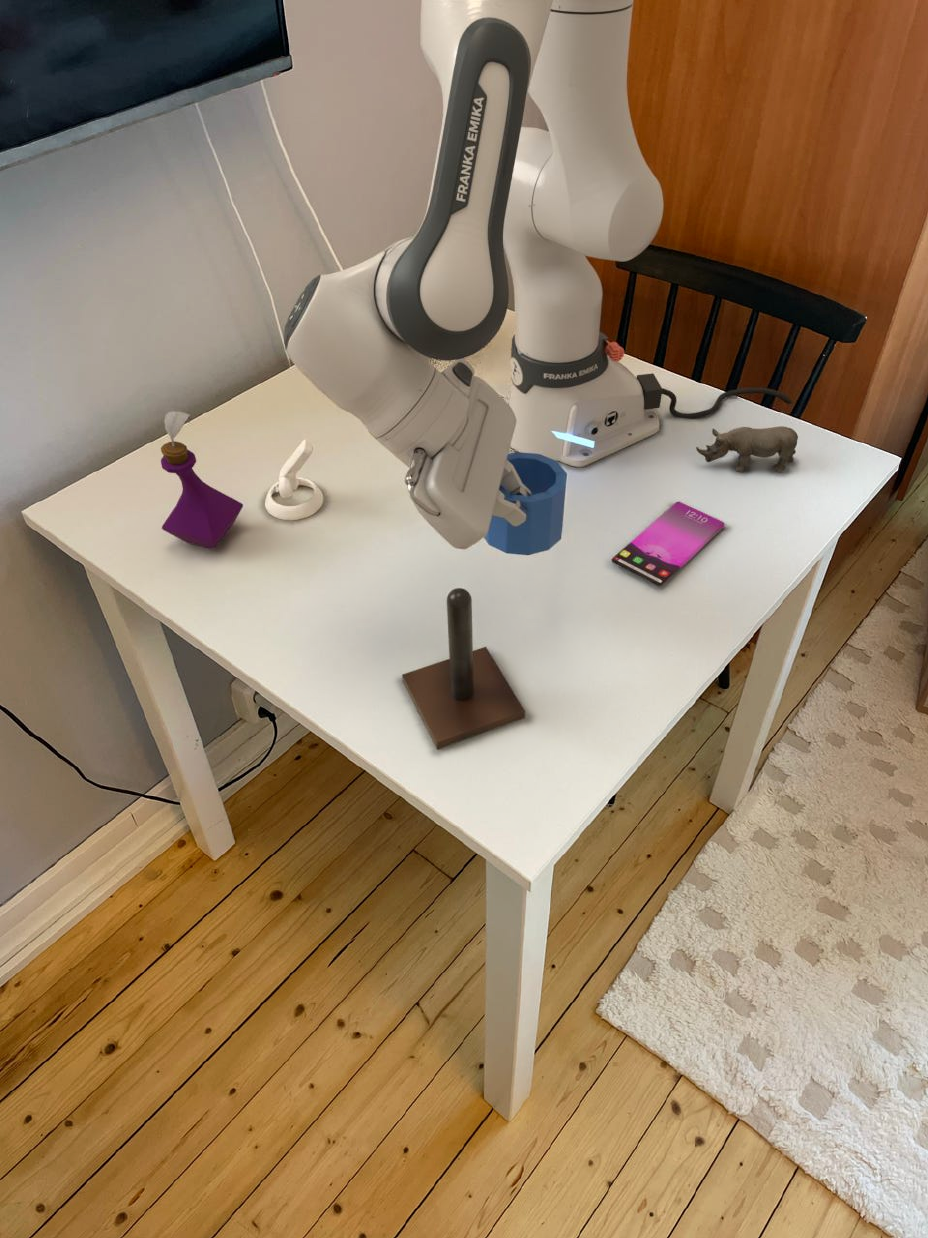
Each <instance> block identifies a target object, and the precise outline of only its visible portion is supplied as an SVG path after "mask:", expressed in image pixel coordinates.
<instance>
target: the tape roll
mask: <svg viewBox="0 0 928 1238" xmlns="http://www.w3.org/2000/svg"><path fill="white" fill-rule="evenodd" d="M507 460H508V461H509V462H510V463H511V464H512V465H513V466H514V468H515V470H516V472H517V474H518V476H519V478H520V480H521V481H522V482H521V483H523V484H524V485H525V486H526V487H527V488H528V489H529V490H530V491H531V493H532V494H531V496H526V495H513V494H510V493H508V492H506V491H505V490H504V488H503V487H502V485H501V484H500V487H499V490H500V491H501V492H502V493H503V494H504V496H505V497H504V500H507V501H509V502H512V503H514V502H515V501H517V500H518V501H520V502H521V503H522V504H523V506H525V507H526V508H527V510H528V512H527V517H526V520H525V522H523V523H522V524H520V525H519V526H513V525H512V524H510V523H509V522H508V521H507V520H506V519H505V518H504V517H503V518H502V517H497V516H493V515H492V518H491V522H490V526H489V530H488V533H487V535H486V536H485V537H484V538H483V539H484V540H485V541H486V543H487V544H488V545H489V546H490V547H492V548H494V549H497V550H498V551H501V552H503V553H504V554H509V555H521V556H533V555H535V554H540V553H543V552H546V551H549V550H550V549H552V548H553V547H554V546H555V545H556V544H557V543H559V542H560V541H561V540H562V535H563V526H564V515H565V514H564V513H565V503H566V489H567V479H568V478H567V477H568V473H567V472H566V470H565V469H564V468H563V467H562V466H561V464H560V463H559V461H555V460H553V459H550V458H548V457H546V456H543V455H541V454H535V453H522V452H518V451H515V452H510V453H508V456H507Z"/></svg>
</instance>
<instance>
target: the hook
mask: <svg viewBox="0 0 928 1238" xmlns="http://www.w3.org/2000/svg"><path fill="white" fill-rule="evenodd" d="M313 451H314V446H313V444H312V442H310V441H309V440H308V439H303V440H302V441H301V442H300V443H299V444H298V446H297V447H296V449H295V450H294V451H293V453H291V455H290V457H289V458H288V459H287V460H286V462H285V463H284V465H283V466H282V468H281V469H280V471H279V478H278V481H277V482H275V483H274V484H273V485H272V486H271V487H270V488H269V490H268V492H267V494H266V497H265V501H264V507H265V509H266V511H267V513H268V515H271V516H272V517H274V518H276V519H279V520H282V521H298V520H302V519H306V518H308V517H311V516H312V515H314V514H315V513H317V512H318V511H319V510H320V509H321V507H322V506H323V504H324V495H323V493H322V491H321V489H320V488H319V486H317V484H316V483H315V482H313V481H312V480H311V479H308V478H305V477H299V476H296V475H297V473H298V472H299V471H300V470H301V469H302V467H303V466H304V464H305V463H306V462H307V461H308V459H309V458H310V457H311V455H312V454H313ZM298 486H303V487H308V488H311V489H313V494H312V495H311V497H310V498H309V499H308V500H307V501H305V502H302V503H300V504H297V505H283V504H279V503H278V502H276V501H275V500H274V499H273V497H272V496H273V495H274V494H275V493H279V494H280V497H281V498H283V499H290V498H291V497H293V491H295V490H296V491H297V489H298Z"/></svg>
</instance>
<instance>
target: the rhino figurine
mask: <svg viewBox="0 0 928 1238" xmlns="http://www.w3.org/2000/svg"><path fill="white" fill-rule="evenodd" d="M711 433H712V435H713V436H714V437H715V441H714V443H713V444H706V445H705V448H706V449H702V448H699V447H698V446H695V449H696V451H697V453H698V454H700V455H701V456H703V458H704V459H705V462H706V463H711V462H714V461H716V460H720V459H721V458H724V457H726V455H727V454H728V453H729V451H730V452H736V453H737V454H738V457H737V459H738V460H739V463H738V464H736V466H735V471H736V472H738V473H744V472H746V471H747V470H748V463H749V461H750V459H751V457H752V456H753V457H756V458H759V459H760V458H763V459H765V458H767V459H768V458H771V457H773V456H775V455H776V454H778V457H779V459H778V461H777V463H776V464H774V466H773V468H772V470H773V472H777V473H782V472H784V471H785V470H786V467H787V466H786V464H790V463H793V462H795V458H794V455H795V454H796V448H797V445H798V439H799V436H798V433H797V431H796V430H794V429H793V428H791V427H788V426H783V425H781V426H780V425H779V426H772V427H766V428H754V427H748V426H739V427H736V428H733V429H731V430H729V431H727V432H723V433H720V432H718V431H717V430H716V429H715V428H712V429H711Z"/></svg>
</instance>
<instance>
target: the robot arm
mask: <svg viewBox="0 0 928 1238" xmlns="http://www.w3.org/2000/svg"><path fill="white" fill-rule="evenodd" d="M420 3H421V4H420V19H419V21H420V23H419V46H420V50H421V52H422V56H423V57H424V59H425V61H426V63H427V65H428V66H429V68H430V70H431V71H432V73H434V75H435V76H436V79H437V81H438V84H439V86H440V91H441V96H442V120H441V127H440V133H439V139H438V144H437V150H436V155H435V163H434V168H433V172H432V173H433V174H432V177H431V178H432V179H431V184H430V190H429V196H428V200H427V201H428V202H427V207H426V212H425V215H424V218H423V221H422V222H421V225H420V227H419V229H418V230H417V232H416V233H415V235H414V236H409V237H405V238H402V239H400V240H397V241H396V242H394V243H392V244H390V245H389V246H388V247H386V248H385V249H383V250H382V251H380V252H378V253H377V254H375V255H374V256H372V257H370V258H368V259H366V260H365V261H362V262H360V263H358V264H356V265H352V266H351V267H347V268H345V269H342V270H338V271H336V272H332V273H327V274H318V275H317V276H315V277H314V278H313V279H312V280H310V282H309V283H308V284H307V285H306V286H305V288H304V290H303V291H302V292H301V294H300V295H299V296H298V298H297V300H296V302H295V304H294V305H293V306H292V307H293V308H292V309H291V311H290V313H289V316H288V318H287V321H286V323H285V325H284V329H283V344H284V350H285V352H286V354H287V356H288V357H289V360H290V361H291V362H292V364H294V366H295V367H296V369H298V371H299V372H300V373H301V374H302V375H303V376H304V377H305V378H306V379H307V380H308V381H309V382H310V383H311V384H312V385H313V386H314V387H315V388H316V389H317V390H318V391H319V392H320V393H322V394H323V395H324V396H325V397H326V398H327V399H329V401H331V402H332V403H333V404H334V405H336V406H337V407H338V408H339V409H341V410H343V411H345V412H347V413H350V414H351V415H353V416H354V417H356V418H357V419H358V420H359V421H360V422H361V423H362V424H363V426H364V427H365V429H366V430H367V432H368V433H369V435H371V437H373V439H375V441H377V442H378V443H380V444H381V445H382V446H383V447H384V448H385V449H387V450H388V452H390V453H391V454H392V455H393V456H394V457H396V458H397V459H398V460H399V461H400V462H401V463H403V464H404V466H406V467H408V470H407V471H406V473H405V478H404V483H405V485H406V486H407V491H408V493H409V499H410V501H412V503H413V506H414V507H415V509H416V510H417V512H418V513H419V515H421V517H422V518H423V520H425V521H426V522H427V523H428V524H429V525H430V526H431V527H432V528H433V530H434V531H435V532H437V533H438V534H439V535H440V536H441V537H442V538H443V540H445V541H446V542H447V543H448V544H449V545H450V546H451V547H452V548H454V549H457V550H458V549H459V550H467V549H469V548H471V547H472V546H474V545H475V544H477V543H479V542H480V541H481V540H483V539H485V538H484V537H485V536H486V535H487V533H488V530H489V526H490V522H491V518H492V515H493V516H497V517H502V518H503V517H504V518H505V519H506V520H507V521H508V522H509V523H510V524H512V525H513V526H519V525H520V524H522V523H523V522H525V520H526V517H527V512H528V510H527V508H526V507H525V506H523V504H522V503H521V502H520V501H518V500H517V501H515V502H514V503H512V502H509V501H507V500H504V497H505V496H504V494H503V493H502V492H501V491H500V490H499V487H500V484H501V485H502V487H503V488H504V490H505V491H506V492H508V493H510V494H513V495H526V496H531V494H532V493H531V491H530V490H529V489H528V488H527V487H526V486H525V485H524V484H523V483H521V482H522V481H521V480H520V478H519V476H518V474H517V472H516V470H515V468H514V466H513V465H512V464H511V463H510V462H509V461H508V460H507V456H508V454H510V448H512V449H513V450H515V451H516V452H522V453H535V454H541V455H543V456H546V457H548V458H550V459H553V460H555V461H557V462H560V463H563V464H566V465H568V466H572V467H576V468H583V467H586V466H588V465H591V464H593V463H595V462H597V461H598V460H601V459H604V458H606V457H607V456H610V455H612V454H614V453H617V452H619V451H621V450H622V449H624V448H626V447H629V446H632V445H633V444H636V443H639V442H640V441H642V440H645V439H647V438H649V437H651V436H653V435H655V434H657V433H658V432H659V431H660V419H659V415H658V413H657V412H656V410H655V409H661V403H662V396H663V395H665V396H666V397H668V398H669V399H670V403H669V407H668V410H669V413H670V414H671V415H672V416H674V417H675V418H677V419H678V418H679V419H686V420H687V419H688V420H689V419H690V420H692V419H698V418H702V417H707V416H710V415H712V414H715V413H716V412H717V411H718V409H719V408H720V407H721V405H722V402H723V401H724V400H725V399H726V398H730V397H733V396H739V395H744V394H745V395H746V394H763V395H764V394H766V395H770V396H774V397H776V398H778V399H780V400H781V401H782V402H784V403H785V404H787V405H790V404H793V401H792V399H791V398H789V397H788V396H787V395H786V394H784V393H783V392H780V391H778V390H775V389H773V388H767V387H744V388H738V389H737V388H736V389H732V390H728V391H725V392H723V393H721V394H719V396H718V397H717V398H716V401H715V402H714V404H713V406H712V407H710V408H708V409H705V410H701V411H697V412H691V413H684V412H680V411H678V410H676V406H677V402H678V401H677V396H676V394H675V393H674V392H672V390H670V389H667V388H663V387H662V386H661V383H660V382H659V381H658V379H657V377H656V376H655V374H654V373H643V374H637V375H636V376H635V374H634V373H633V372H632V371H631V370H630V369H629V368H628V367H627V366H625V365H624V364H623V363H621V362H620V361H621V360H622V358H624V356H625V350H624V348H623V347H622V346H621V345H620V344H619V343H618V342H617V341H611V342H610V341H609V337H608V336H607V335H606V334H605V333H603V332H602V331H600V329H601V317H602V305H603V296H604V295H603V294H604V292H603V286H602V281H601V279H600V277H599V274H598V273H597V271H596V269H595V268H594V266H592V264H591V263H590V262H589V260H588V258H593V259H599V260H605V261H613V262H629V261H631V260H633V259H634V258H636V257H638V256H639V255H640V254H641V253H643V252H645V250H646V249H647V248H648V247H649V245H650V244H651V243H652V242H653V240H654V239H655V237H656V235H657V234H658V231H659V229H660V227H661V224H662V219H663V215H664V195H663V189H662V186H661V183H660V182H659V180H658V178H657V177H656V176H655V175H654V173H653V172H652V170H651V169H650V167H649V166H648V164H647V162H646V160H645V158H644V156H643V154H642V151H641V148H640V146H639V144H638V140H637V137H636V134H635V130H634V127H633V122H632V117H631V112H630V105H629V98H628V82H627V81H628V64H629V50H630V40H631V39H630V38H631V28H632V20H633V19H632V18H633V10H634V9H633V8H634V0H421V2H420ZM528 95H529V96H530V98H531V100H532V101H533V102H534V104H535V105H536V106H537V107H538V109H539V111H540V112H541V114H542V116H543V119H544V121H545V124H546V127H547V129H548V130H545V129H542V128H539V127H529V126H522V125H523V119H524V113H525V112H524V111H525V107H526V100H527V97H528ZM505 255H506V259H507V261H508V266H509V269H510V273H511V279H512V283H513V292H514V293H513V294H514V334H513V336H512V338H511V345H510V348H511V349H510V365H509V366H510V379H511V387H510V393H509V399H508V402H507V401H506V400H505V399H504V398H503V397H502V396H501V395H500V394H499V393H498V392H497V391H496V390H495V389H494V388H493V387H492V386H491V385H490V384H489V383H488V382H487V381H485V380H484V379H483V378H481V377H479V376H476V375H475V373H476V372H475V371H476V370H475V368H474V367H473V366H472V364H471V363H470V362H469V361H467V360H466V358H469V357H470V356H473V355H475V354H476V353H478V352H480V351H481V350H483V349H484V348H485V347H486V346H488V345H489V343H491V342H492V340H493V339H494V338H495V337H496V335H497V334H498V333H499V331H500V329H501V327H502V325H503V323H504V321H505V319H506V315H507V312H508V307H509V298H510V295H509V294H510V292H509V291H510V290H509V289H510V287H509V278H508V272H507V271H508V270H507V265H506V259H505ZM587 257H588V258H587ZM430 359H433V360H436V361H446V362H447V361H449V362H451V361H454V362H452V363H451V364H450V365H449V366H447V367H446V368H445V369H443V370H442V371H440V370H438V369H437V368H436V367H435V365H434V364H432V363H431V361H430Z"/></svg>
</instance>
